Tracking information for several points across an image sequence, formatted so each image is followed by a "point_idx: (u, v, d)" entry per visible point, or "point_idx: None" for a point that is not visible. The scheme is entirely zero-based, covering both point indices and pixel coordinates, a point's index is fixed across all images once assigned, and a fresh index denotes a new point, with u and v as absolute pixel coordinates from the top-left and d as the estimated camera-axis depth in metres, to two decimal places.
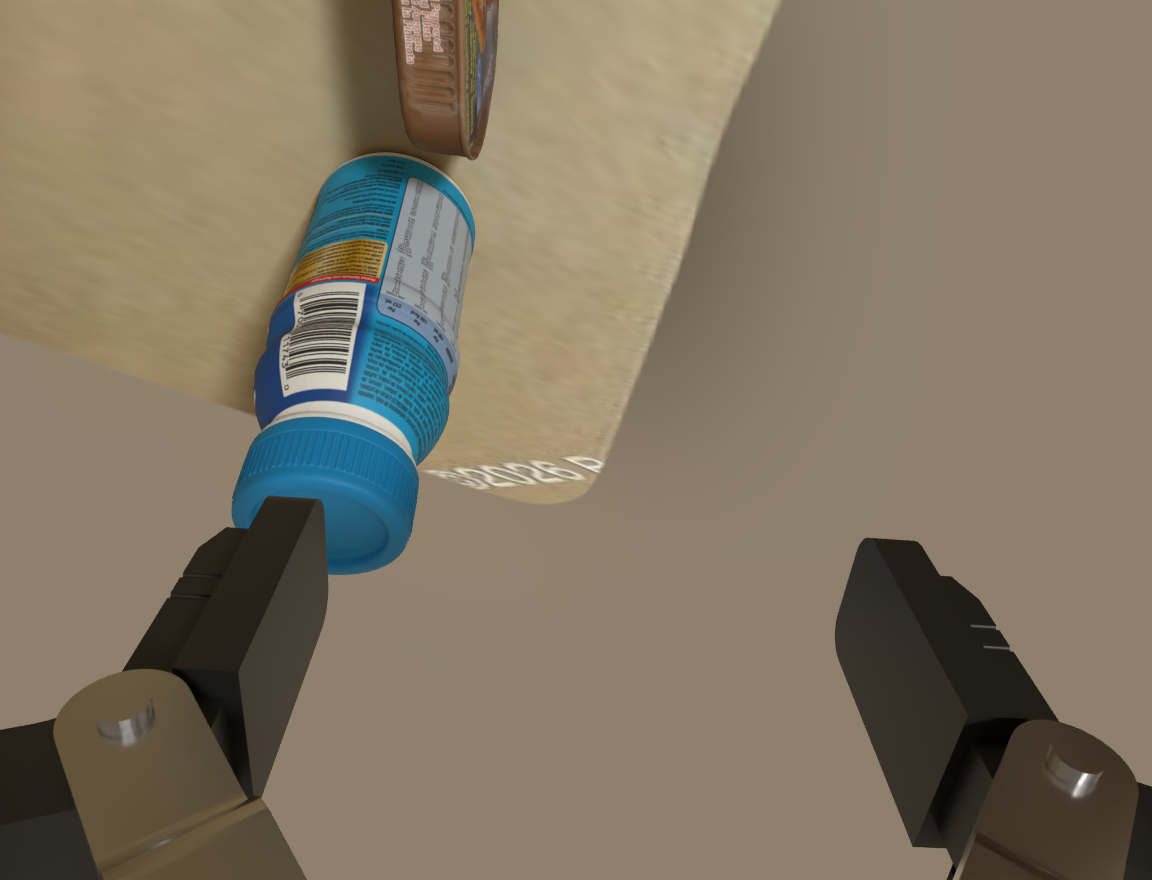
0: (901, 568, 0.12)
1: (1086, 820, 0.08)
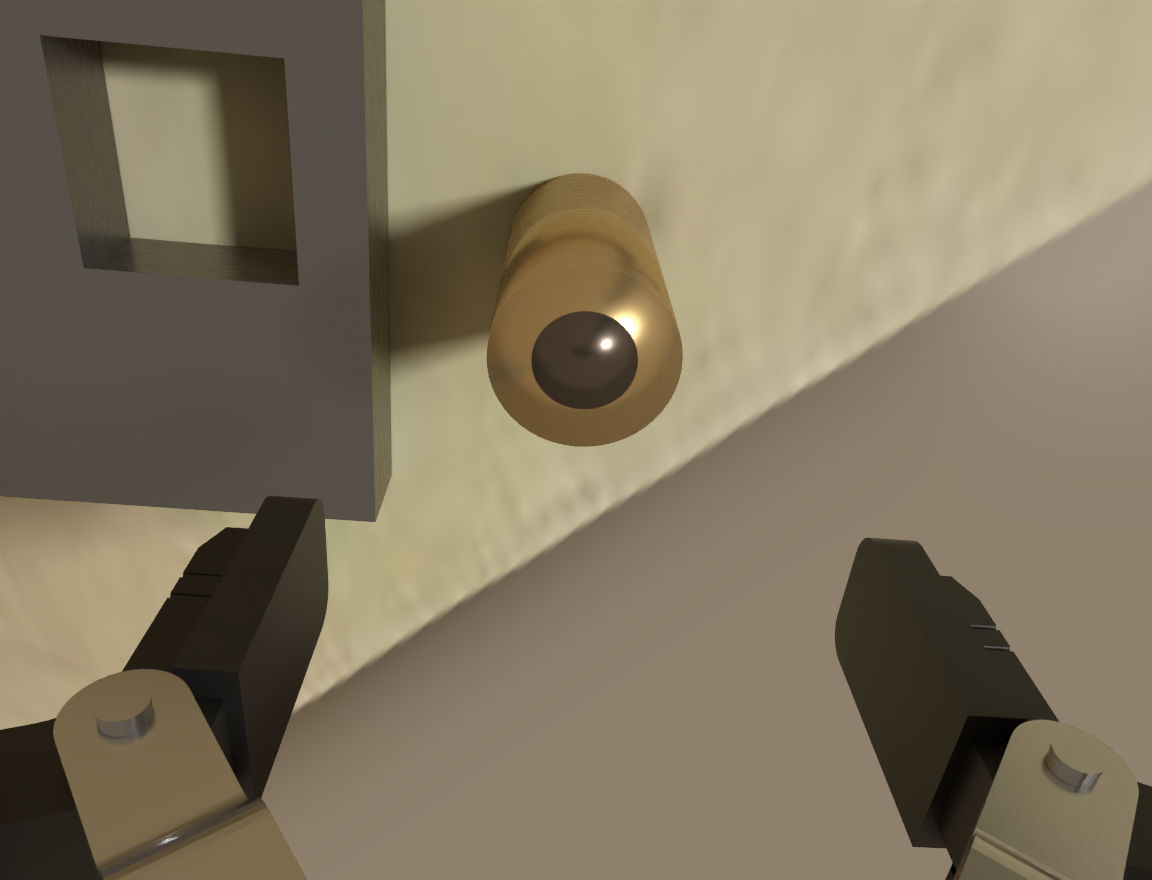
0: (901, 568, 0.12)
1: (1086, 820, 0.08)
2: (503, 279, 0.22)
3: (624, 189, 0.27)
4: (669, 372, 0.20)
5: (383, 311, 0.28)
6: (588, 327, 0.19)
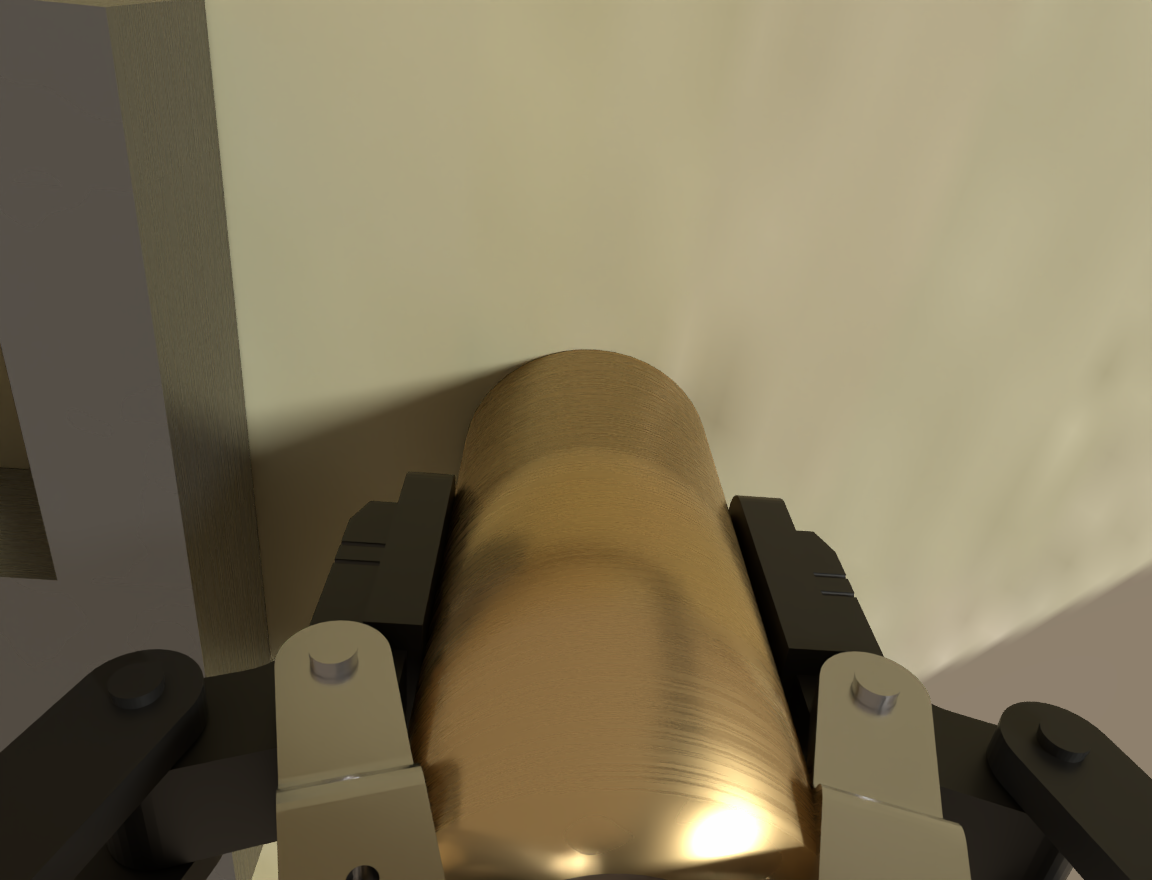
0: (759, 521, 0.13)
1: (873, 736, 0.09)
2: (426, 664, 0.10)
3: (665, 376, 0.15)
4: None
5: (242, 578, 0.16)
6: None
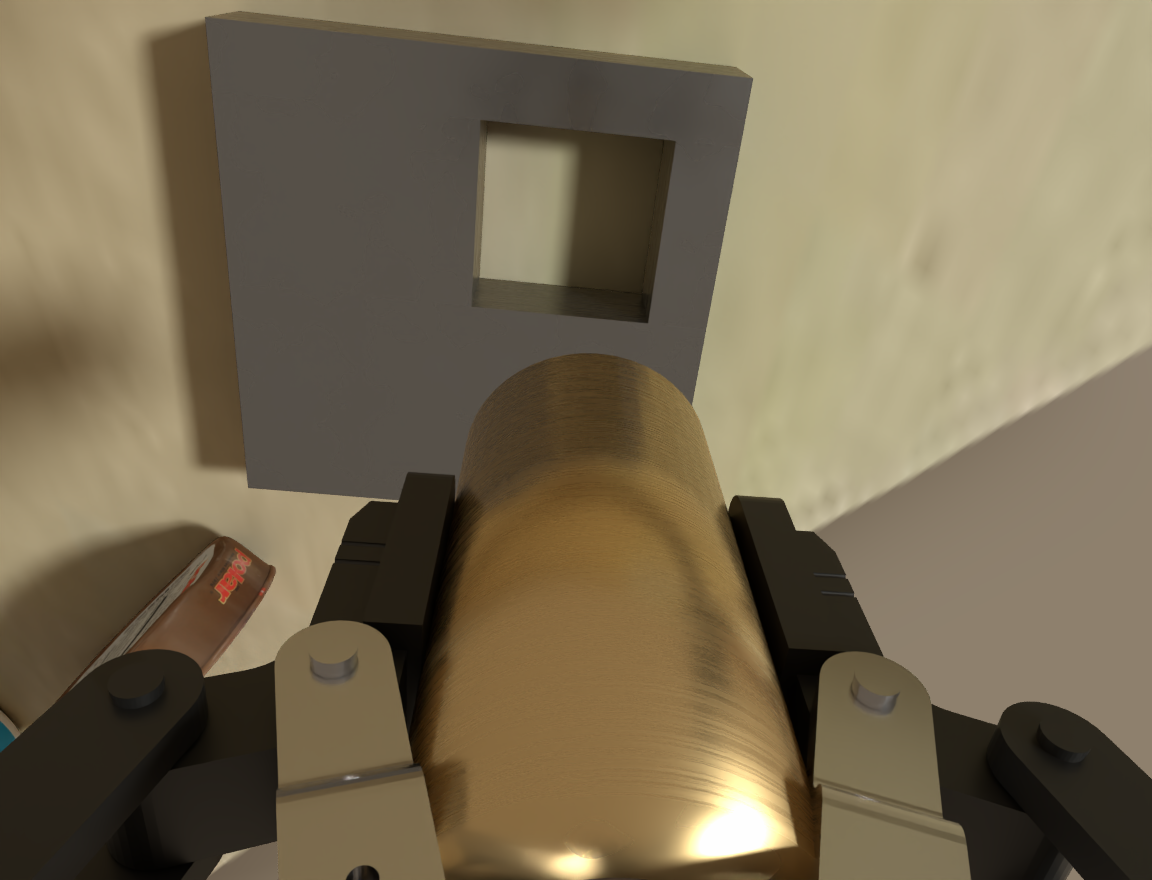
0: (759, 521, 0.13)
1: (873, 735, 0.09)
2: (427, 667, 0.10)
3: (665, 379, 0.15)
4: None
5: None
6: None
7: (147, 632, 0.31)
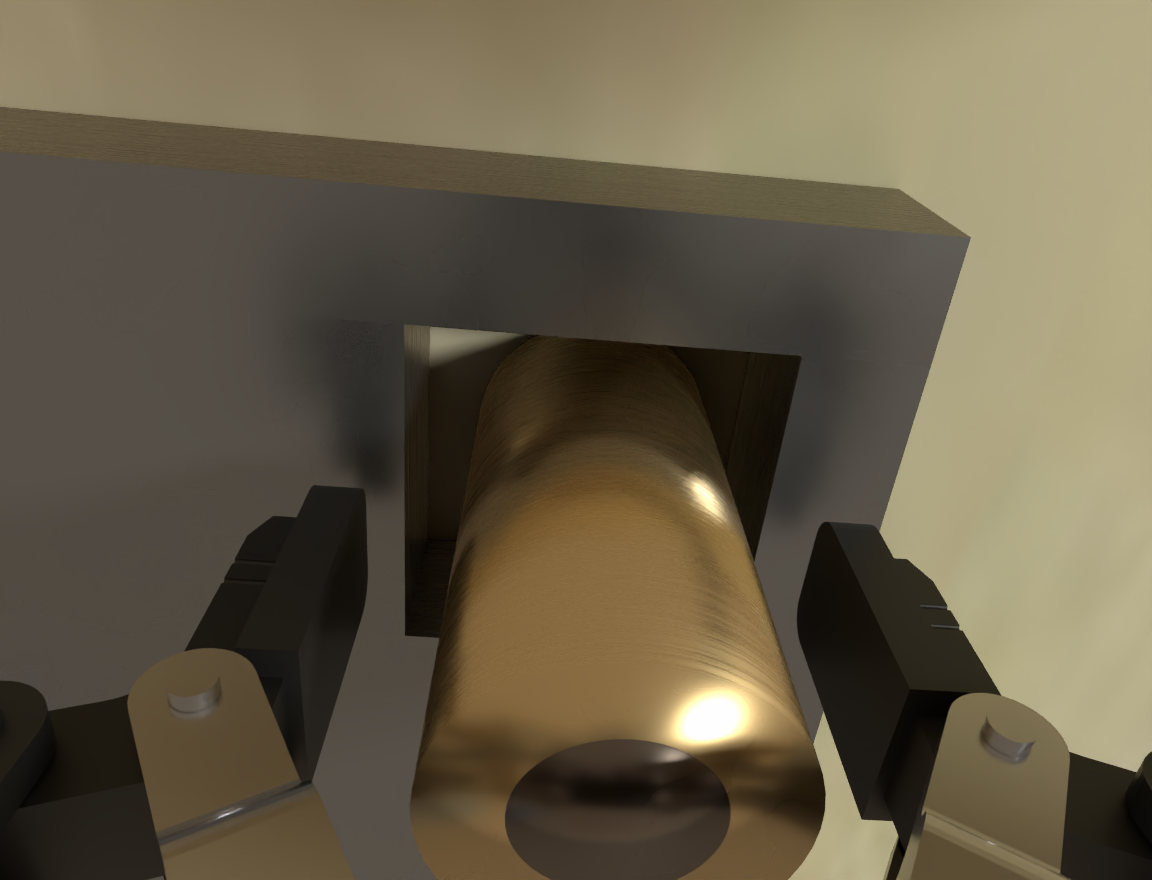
0: (856, 550, 0.12)
1: (1016, 787, 0.09)
2: (454, 584, 0.11)
3: (665, 346, 0.16)
4: (794, 835, 0.09)
5: None
6: (627, 766, 0.09)
7: None
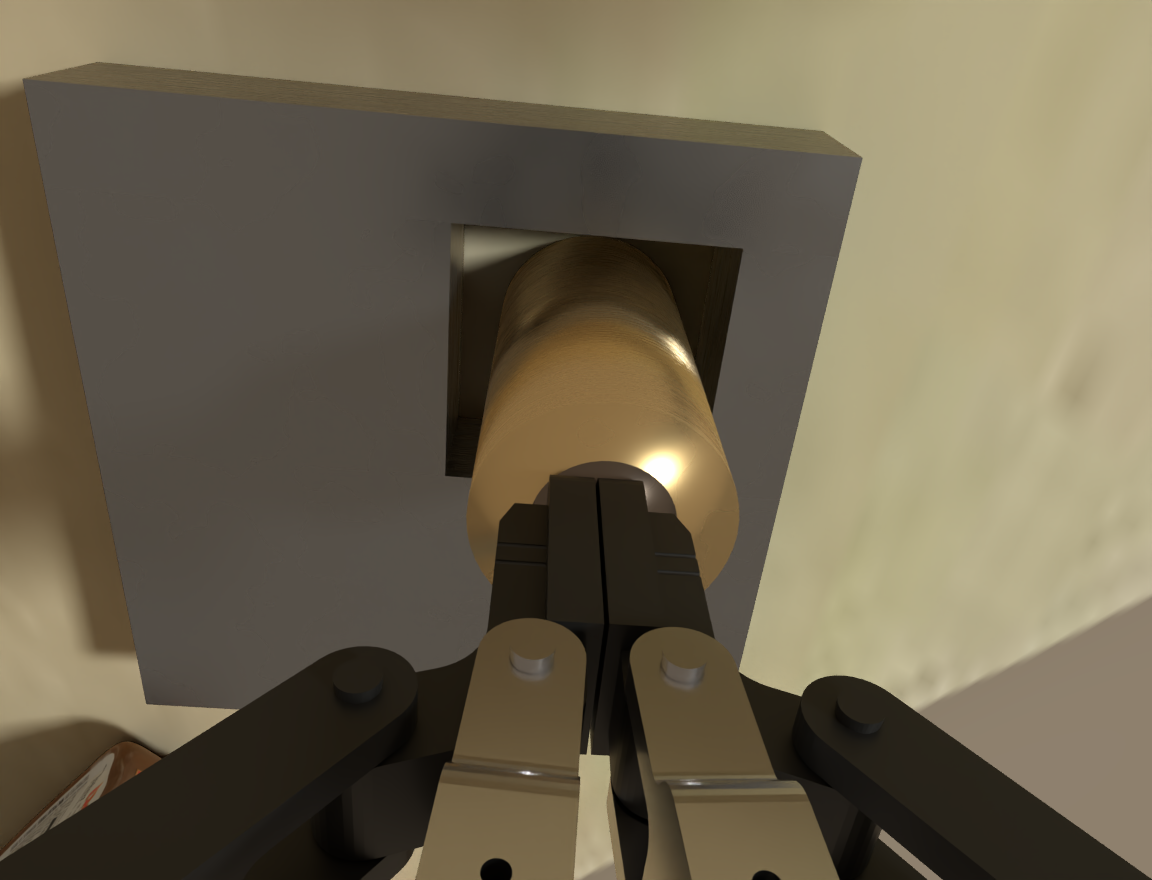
0: (612, 503, 0.13)
1: (669, 708, 0.09)
2: (490, 395, 0.16)
3: (645, 255, 0.21)
4: (720, 538, 0.14)
5: None
6: None
7: None
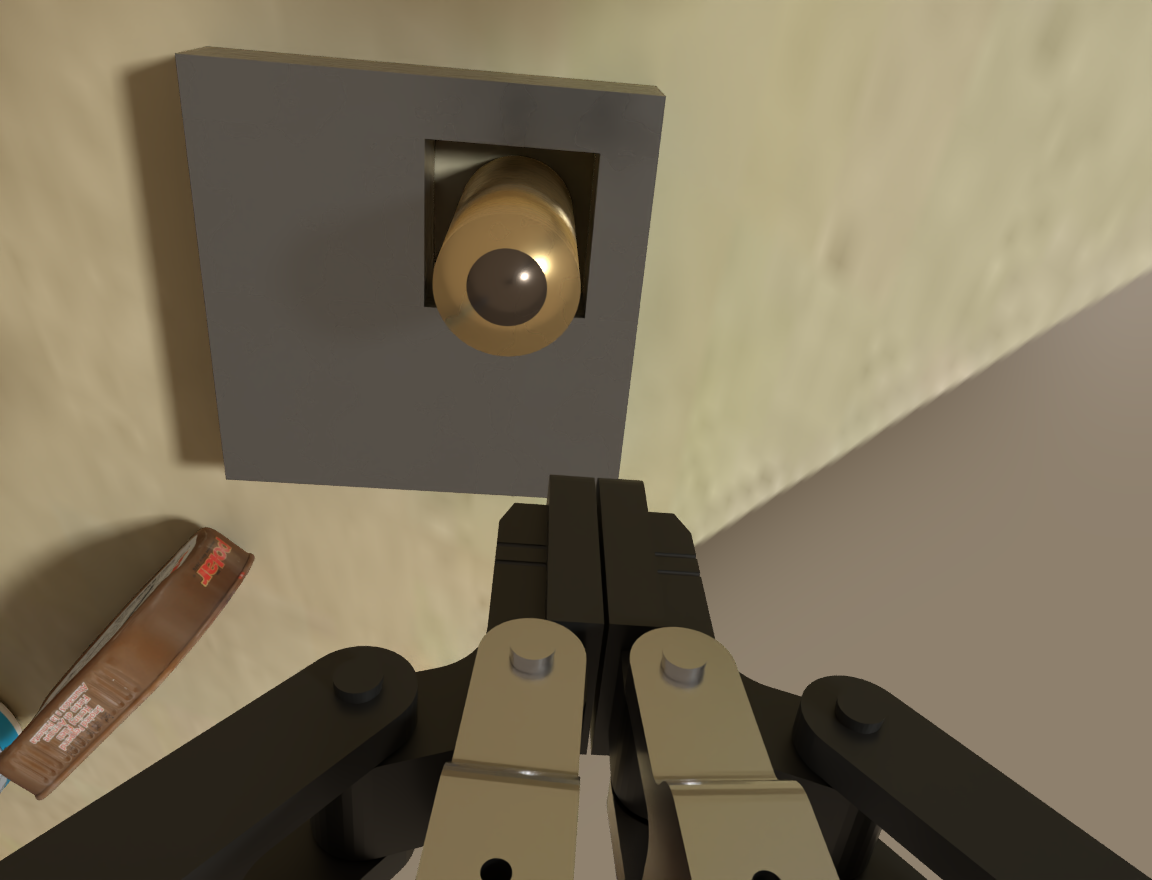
0: (613, 503, 0.13)
1: (669, 708, 0.09)
2: None
3: (550, 168, 0.33)
4: (571, 296, 0.26)
5: None
6: (508, 261, 0.26)
7: (135, 613, 0.34)
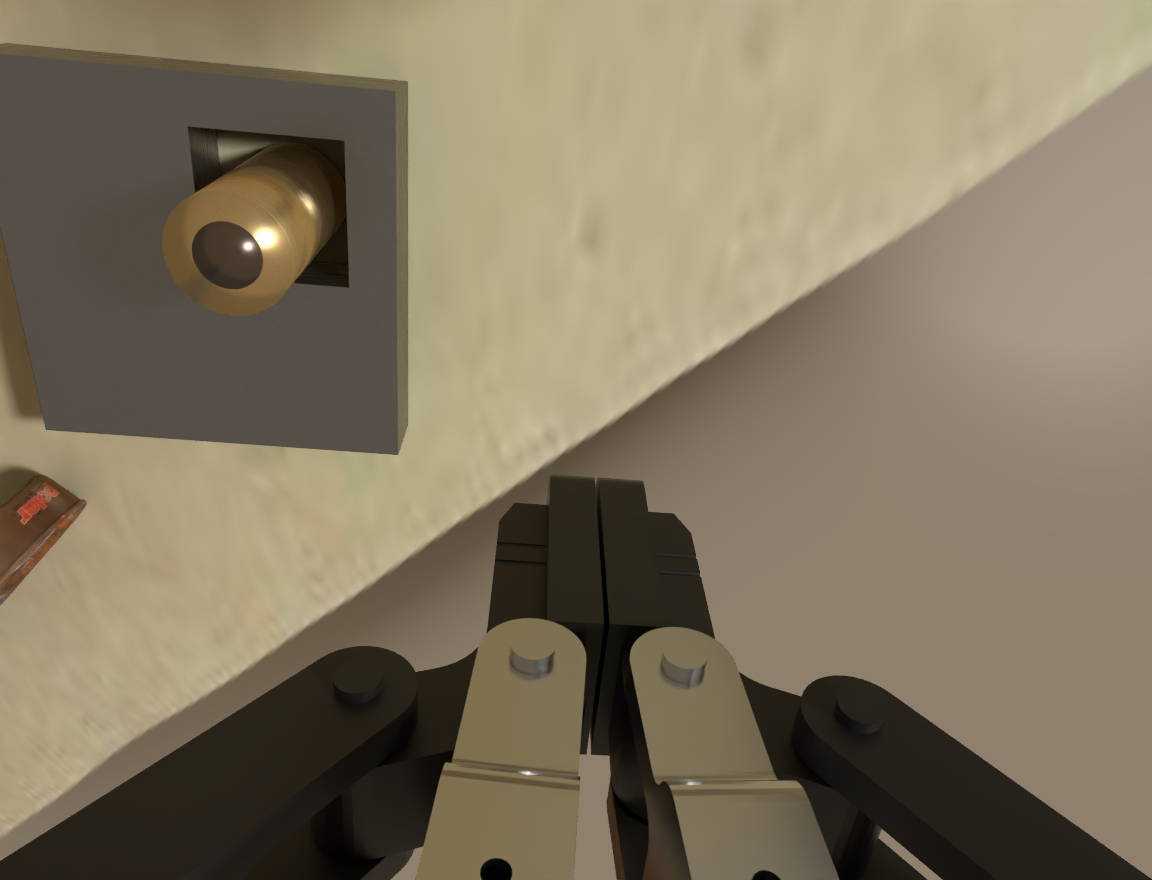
0: (612, 503, 0.13)
1: (669, 707, 0.09)
2: None
3: (321, 153, 0.37)
4: (284, 263, 0.30)
5: (404, 305, 0.40)
6: (225, 232, 0.30)
7: None
